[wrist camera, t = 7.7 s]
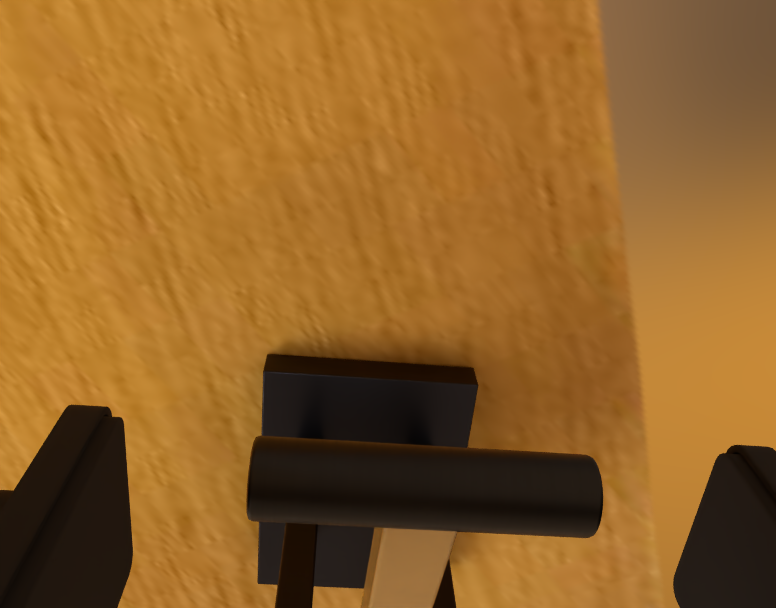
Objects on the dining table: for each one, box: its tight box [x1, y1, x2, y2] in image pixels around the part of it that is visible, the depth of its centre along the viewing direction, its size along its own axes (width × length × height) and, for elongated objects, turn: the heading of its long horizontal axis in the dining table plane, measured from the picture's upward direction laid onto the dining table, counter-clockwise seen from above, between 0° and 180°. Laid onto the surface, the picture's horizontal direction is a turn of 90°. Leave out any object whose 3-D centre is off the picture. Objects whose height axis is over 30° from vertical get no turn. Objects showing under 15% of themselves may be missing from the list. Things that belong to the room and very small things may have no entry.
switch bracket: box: [258, 354, 478, 608], centre depth 23 cm, size 10×8×13 cm
